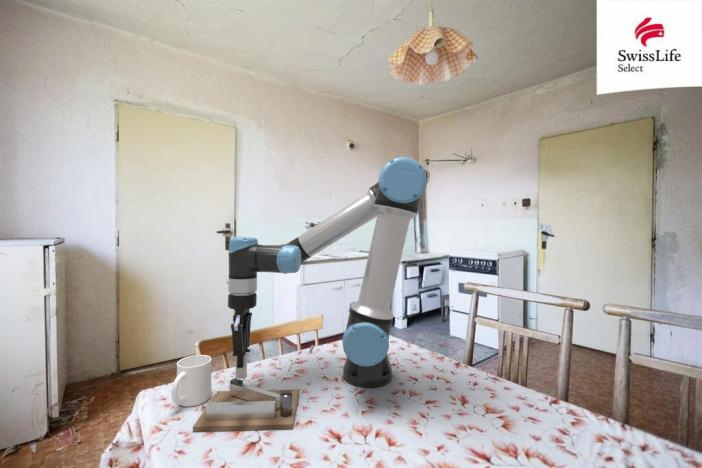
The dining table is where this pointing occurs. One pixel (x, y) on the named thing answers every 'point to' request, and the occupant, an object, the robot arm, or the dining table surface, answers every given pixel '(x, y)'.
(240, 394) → the light grey long bar
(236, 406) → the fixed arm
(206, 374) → the mug
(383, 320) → the robot arm
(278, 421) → the board
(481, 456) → the dining table surface
